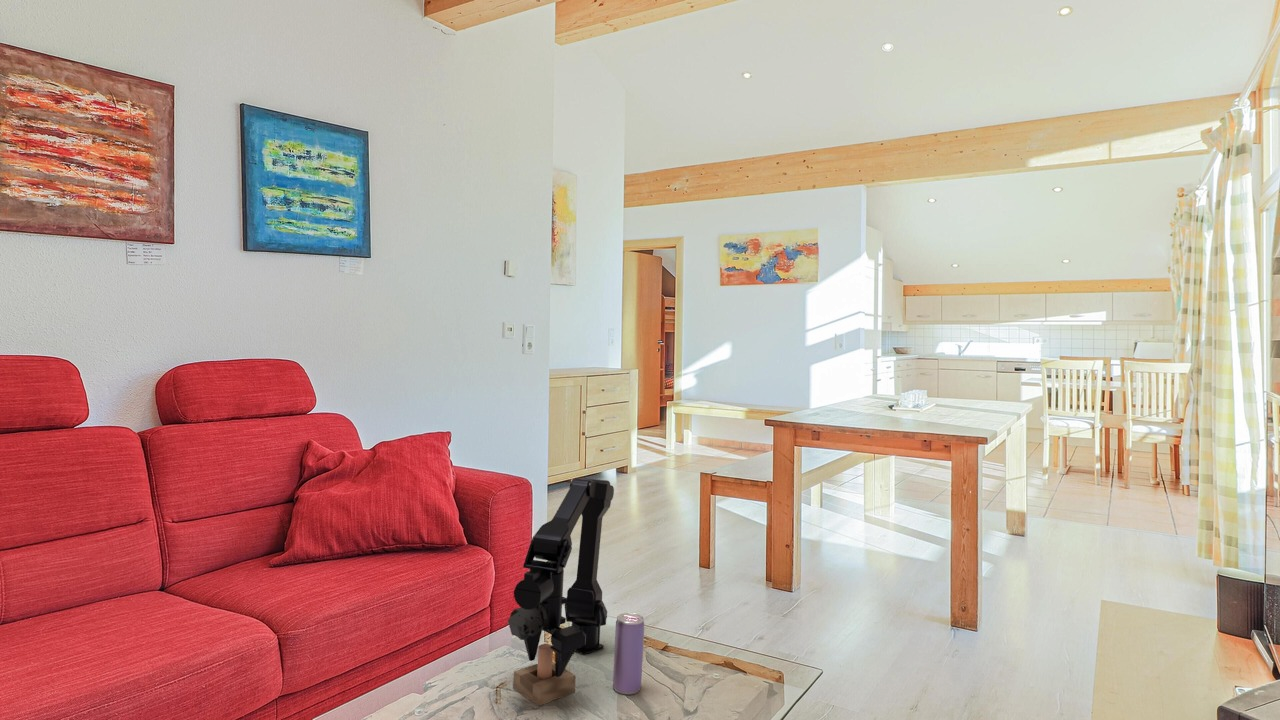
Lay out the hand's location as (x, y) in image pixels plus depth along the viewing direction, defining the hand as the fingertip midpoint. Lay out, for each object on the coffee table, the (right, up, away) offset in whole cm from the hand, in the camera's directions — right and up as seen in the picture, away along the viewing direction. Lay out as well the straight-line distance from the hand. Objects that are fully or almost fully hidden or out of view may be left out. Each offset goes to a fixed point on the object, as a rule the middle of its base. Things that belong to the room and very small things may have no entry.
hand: (544, 668), depth 149 cm
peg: (0, -5, 0) cm, 5 cm away
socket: (0, -5, 0) cm, 5 cm away
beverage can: (+17, -6, +3) cm, 18 cm away
